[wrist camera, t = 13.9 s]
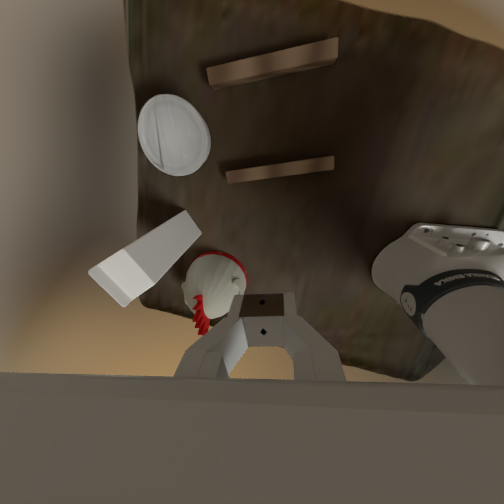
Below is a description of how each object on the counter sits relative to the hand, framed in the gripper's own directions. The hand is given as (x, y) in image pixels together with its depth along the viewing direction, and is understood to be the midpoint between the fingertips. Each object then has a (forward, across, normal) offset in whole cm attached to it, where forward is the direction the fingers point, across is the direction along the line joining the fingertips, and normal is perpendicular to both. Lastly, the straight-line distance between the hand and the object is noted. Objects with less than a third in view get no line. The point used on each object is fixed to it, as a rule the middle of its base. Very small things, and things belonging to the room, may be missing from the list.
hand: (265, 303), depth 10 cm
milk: (+31, +20, +5) cm, 37 cm away
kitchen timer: (+31, +15, +18) cm, 39 cm away
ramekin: (+32, +15, -11) cm, 36 cm away
